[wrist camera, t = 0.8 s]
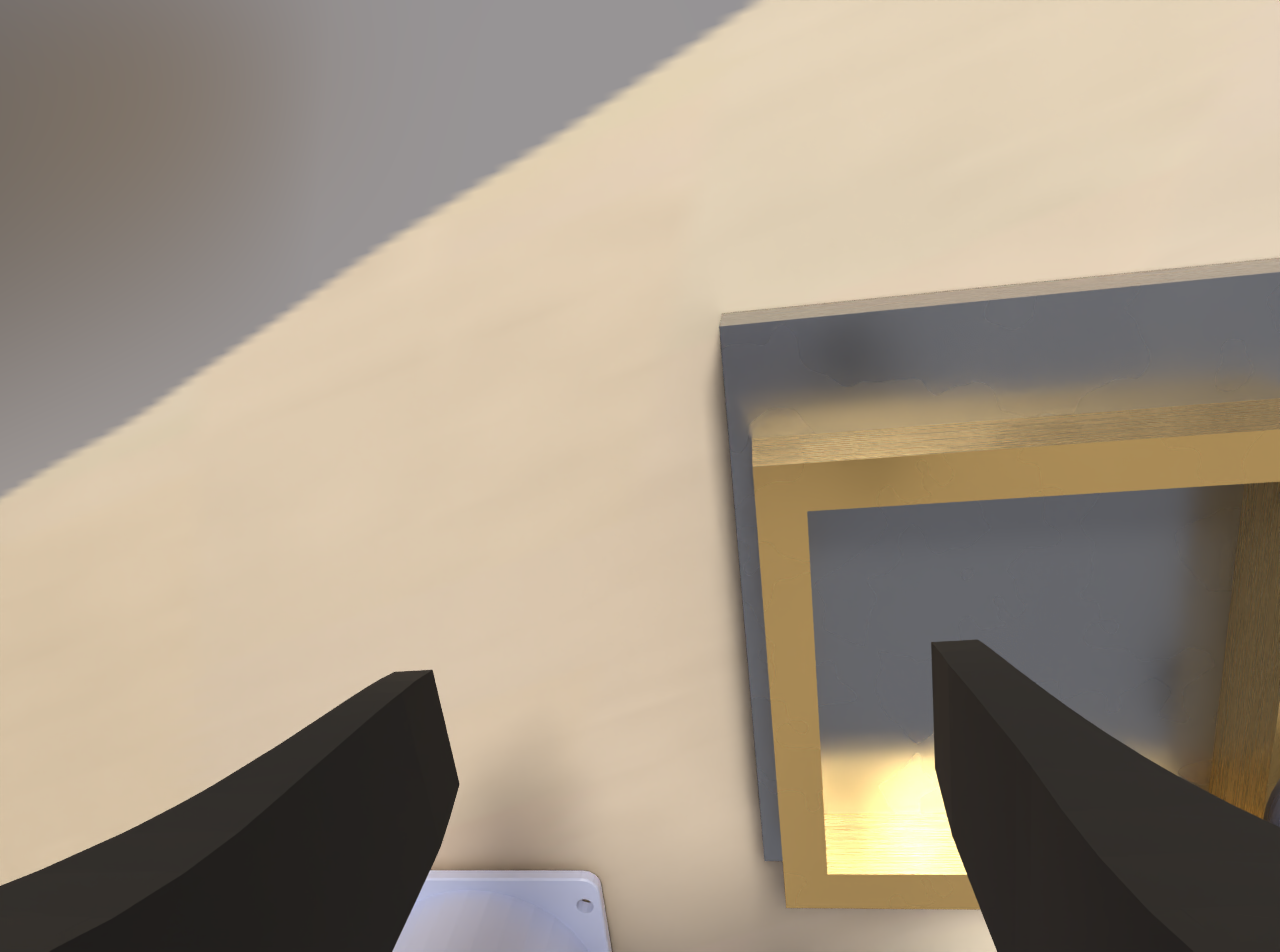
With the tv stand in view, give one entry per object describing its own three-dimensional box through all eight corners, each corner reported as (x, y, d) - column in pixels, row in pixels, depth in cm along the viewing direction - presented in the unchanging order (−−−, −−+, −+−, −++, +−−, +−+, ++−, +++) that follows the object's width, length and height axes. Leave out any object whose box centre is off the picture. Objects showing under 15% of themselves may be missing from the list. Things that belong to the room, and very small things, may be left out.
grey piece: (1394, 801, 21) (1578, 974, 16) (763, 807, 24) (767, 960, 19) (1507, 235, 17) (1800, 250, 12) (721, 313, 19) (714, 352, 15)
